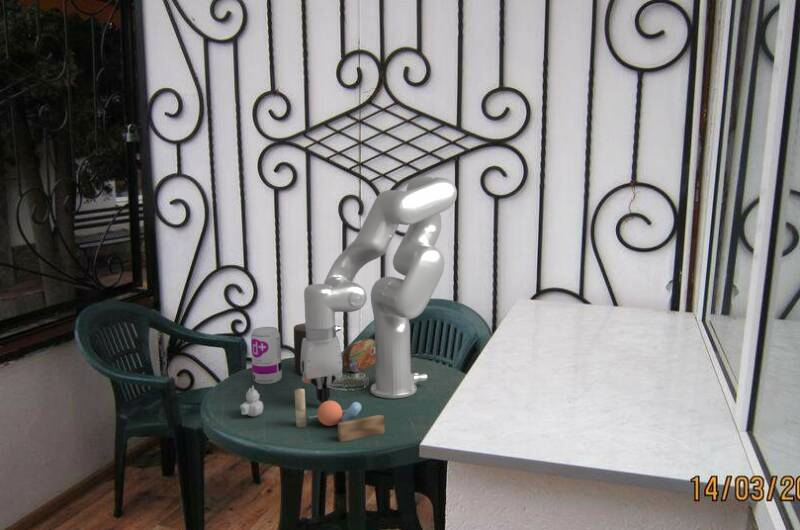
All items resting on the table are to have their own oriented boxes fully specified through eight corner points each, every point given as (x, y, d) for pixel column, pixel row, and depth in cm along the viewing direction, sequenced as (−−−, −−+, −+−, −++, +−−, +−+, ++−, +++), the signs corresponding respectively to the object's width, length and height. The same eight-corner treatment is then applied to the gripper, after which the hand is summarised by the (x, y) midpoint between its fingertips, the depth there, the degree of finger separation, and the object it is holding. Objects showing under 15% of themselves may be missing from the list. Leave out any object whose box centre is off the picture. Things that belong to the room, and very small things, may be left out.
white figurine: (269, 414, 182) (267, 384, 181) (248, 422, 177) (246, 391, 176) (255, 409, 186) (253, 380, 184) (234, 417, 181) (232, 387, 179)
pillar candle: (295, 377, 210) (294, 327, 208) (293, 366, 220) (292, 319, 217) (329, 374, 212) (328, 325, 210) (325, 364, 222) (324, 317, 219)
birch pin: (304, 423, 176) (302, 387, 175) (307, 426, 174) (305, 390, 173) (294, 424, 175) (293, 389, 174) (297, 428, 173) (296, 392, 172)
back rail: (381, 430, 171) (381, 414, 170) (384, 432, 169) (384, 416, 169) (338, 439, 166) (337, 423, 165) (340, 442, 165) (340, 425, 164)
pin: (347, 417, 175) (360, 401, 168) (349, 426, 174) (362, 410, 167) (338, 418, 174) (350, 402, 167) (340, 428, 172) (353, 411, 166)
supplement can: (268, 386, 203) (266, 335, 200) (247, 381, 207) (244, 331, 205) (287, 378, 210) (285, 328, 207) (266, 373, 214) (263, 324, 211)
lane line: (352, 409, 185) (352, 408, 185) (353, 410, 184) (353, 409, 184) (307, 417, 180) (307, 417, 179) (309, 419, 179) (308, 418, 179)
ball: (345, 427, 173) (340, 415, 179) (343, 405, 171) (338, 394, 177) (321, 432, 172) (316, 420, 177) (318, 410, 170) (314, 398, 175)
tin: (350, 376, 211) (349, 348, 209) (341, 374, 212) (340, 346, 211) (379, 362, 223) (378, 336, 222) (371, 360, 225) (370, 334, 223)
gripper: (342, 325, 190) (345, 392, 193) (287, 333, 183) (291, 402, 186) (353, 332, 183) (355, 401, 186) (296, 340, 177) (300, 411, 180)
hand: (323, 401), depth 186 cm, fingers closed
